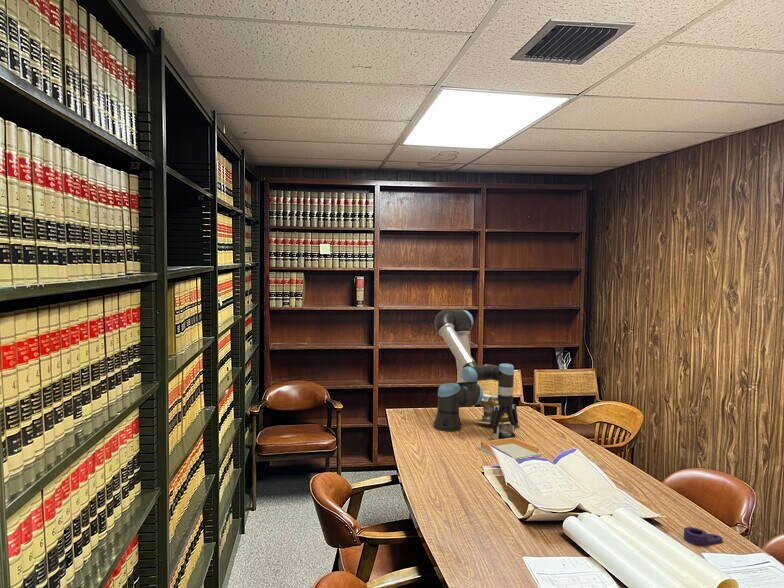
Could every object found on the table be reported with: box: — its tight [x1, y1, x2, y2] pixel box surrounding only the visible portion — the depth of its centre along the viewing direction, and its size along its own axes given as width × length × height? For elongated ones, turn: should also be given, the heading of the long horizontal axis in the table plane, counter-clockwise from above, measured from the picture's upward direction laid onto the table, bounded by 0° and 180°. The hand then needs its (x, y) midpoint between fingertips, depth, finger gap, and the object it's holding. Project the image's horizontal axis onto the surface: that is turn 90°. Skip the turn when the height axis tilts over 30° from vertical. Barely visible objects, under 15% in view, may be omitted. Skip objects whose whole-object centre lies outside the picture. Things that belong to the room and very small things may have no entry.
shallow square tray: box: [477, 437, 542, 459], centre depth 244 cm, size 20×21×4 cm
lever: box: [683, 526, 723, 547], centre depth 164 cm, size 12×6×3 cm, turn 99°
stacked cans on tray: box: [474, 393, 520, 425], centre depth 294 cm, size 25×25×17 cm
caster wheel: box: [498, 422, 516, 440], centre depth 265 cm, size 7×11×10 cm
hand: (503, 438), depth 266 cm, fingers open, 9 cm apart
